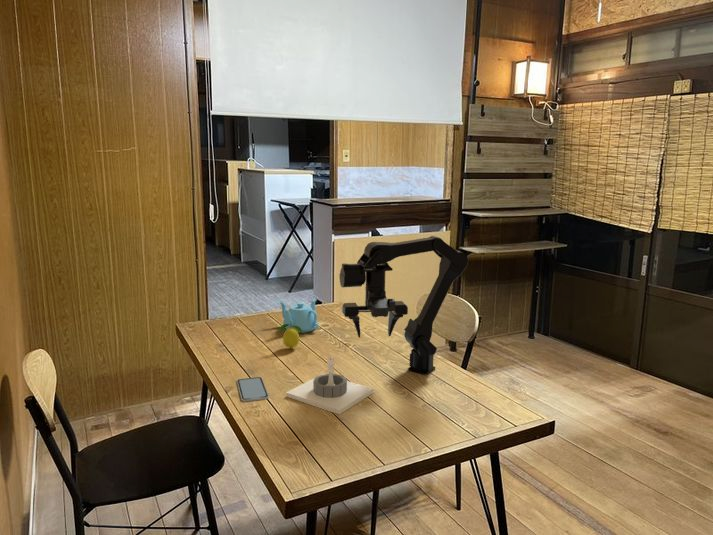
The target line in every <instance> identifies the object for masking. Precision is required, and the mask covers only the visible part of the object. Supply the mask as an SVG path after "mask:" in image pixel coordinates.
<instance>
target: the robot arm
mask: <svg viewBox="0 0 713 535" xmlns="http://www.w3.org/2000/svg"><path fill="white" fill-rule="evenodd" d="M428 252H433V253H434V254H435V255H436V256H438V258H440V261H439V264H438V265H439V266H438V276H437V278H436V280H435V282H434V284H433V285H432V288H431V290H430V292H429V294H428V296H427V299H426V300H425V302H424V304H423V307H422V309H421V310H420V313H419V314H418V316H417V317H416V318H415V319H412V318H409V319H408V323H407V325H406V327H405V328H404V329H403V330H404V331H405V332H404V339H405V341H406V342H407V343H408V344H409V346H410V347H411V348H412V349H411V350H410V353H409V363H408V364H409V367H408V368H407V370H408V371H410V372H414V373H418V374H423V375H428V374H429V373H431V372H433V371H434V370H436V366H434V356H435V355H436V353H437V350H438V348H437V347H436V346H435V345H434V344H433V343H432V342H431V339H432V336H433V325H434V324H433V323H434V322H435V319H436V318H437V315H438V313H439V311H440V309H441V307H442V305H443V304H444V301H445V299H446V297H447V295H448V292H449V290H450V288H451V287H452V284H453V282H455V280H457V279H458V278H459V277H461V275H462V273H463V272H464V271H465V270H466V269H467V267H468V264H469V260H468V256H467V255H466V253H464V252H463V251H459V250H457V249H455V248H454V247H452V246H451V245H449V244H448V243H446V242H445V241H444V240H443V238H441V237H438V236H436V235H431V236H428V237H423V238H416V239H411V240H404V241H399V242H386V241H371V242H368V243H367V244H366V246H365V247H364V251H363V253H362V255H361V256H360V257H359V259H358V260H357V261H356V263H341V268H340V273H339V284H340V287H341V288H357V287H358V288H360V287H362V286H363V285H365V286H364V287H365V289H364V290H365V295H364V296H365V301H364V304H365V305H358V304H357V302H344V303H343V304H342V309H341V310H342V314H343V315H344V317H345V318H348V319H349V320H352V322H353V325H354V327H355V328H354V329H355V331H356V333H357V337H358V339H360V338H361V326H360V316H359V313H370V315H371V317H373V318H378V317H384V318H386V317H388V323H387V324H388V326H387V327H388V328H387V334H388V337H391V335H392V333H393V331H394V328H395V325H396V324H397V321H398V320H399V319H400V318H403V317H404V316H405V315H408V314H409V310H408V309H409V308H408V305H407V304H406V303H404V302H403V301H402V300H396V299H395V298H387V296H386V272H391V271H393V270H394V269H393V268H392V267H391V265H389V263H388V262H391V261H393V260H395V259H397V258H399V257H405V256H409V255H415V254H423V253H428Z"/></svg>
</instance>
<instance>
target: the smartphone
mask: <svg viewBox="0 0 713 535" xmlns="http://www.w3.org/2000/svg"><path fill="white" fill-rule="evenodd" d="M236 384H237V388H238V391H239V395H240V401H241V402H244V403H248V402H255V401H261V400H268V399H269V398H270V396H269V392H268V390H267V388H266V385H265V382H264V379H263V377H260V376H256V377H245V378H239V379H236Z"/></svg>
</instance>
